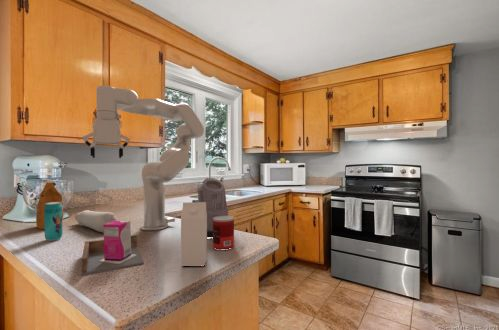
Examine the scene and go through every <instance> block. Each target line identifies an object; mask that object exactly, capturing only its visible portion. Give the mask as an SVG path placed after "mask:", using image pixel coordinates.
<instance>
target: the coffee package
mask: <svg viewBox="0 0 499 330" xmlns="http://www.w3.org/2000/svg"><path fill="white" fill-rule="evenodd" d="M55 186H57V183H56V182H51V181H49V180H47V181H46V182H45V185H44V187H43V188H42V191H41V192H40V195H39V197H38V202H37V205H36V216H35V217H36V220H35V221H36V224H35V225H36V227H37V229H38V230H45V213H44V207H45V205H46V204H45V203H49V202H61V204H62V220H63V218H64V209H63V208H64V207H63V206H64V205H63V202H64V201H63V196H62V195H61V193H60V192H59V190H57V188H56V187H55Z"/></svg>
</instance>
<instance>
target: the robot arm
mask: <svg viewBox="0 0 499 330" xmlns="http://www.w3.org/2000/svg"><path fill="white" fill-rule="evenodd" d="M95 93H96V95H95V96H96V103H95V104H96V118H95V119H94V120H93V124H92V125H93V127H92V132H91V133H87V134H86V135H83V136H82V137H81V138H82V139H83V141H84V143H85V144H86V145H87V146H88V147H89V148H90V157H92V158H93V159H95V157H96V152H95V150H96V149H95V146H96V145H117V146H118V147H119V149H118V158H119V159H122V157H124V148H126V146H128V145H129V143H130V141H131V138H130V137H128V136H126V135H123V134H122V133H121V124H120V120H119V119H121V118H122V115H121V114H119V113H118V111H122V112H125V113H129V114H136V115H142V116H149V117H155V118H159V119H163V120H166V121H169V122H170V121H171V122H184V123H182V124H179V126H178V127H177V129H176V141H175V142H174V143H173V144H172V145H170V147H169V148H167V149H166V150H164V151H163V152H162V153H161V155H160V157H159V161H150V162H147V163H146V164H144V165H143V167H142V169H141V178H142V183H143V184H142V185H143V223H142V224H141V225H140V227H139V228H140V230H143V231H159V230H163V229H166V228H168V227H169V223H174V222H176V218H175V217H166V216H165V215H166V211H165V210H166V203H165V202H166V198H165V197H166V194H165V193H166V192H165V191H166V190H165V184H164V183H168V182H171V181H172V180H174V179H175V178H176V177H178V175H179V174H180V173H181V172H182V171H183V170H185V168H187V166H188V164H189V162H190V154H189V152H190V150H191V140H193V139H199V138H201V137H203V135H204V132H205V129H204V126H203V123H202V121H201V120H200V119H199V117H198V116H197V113H195V111H194V110H193V108H192V107H191V106H190V105H189V104H188V103H185V102H182V103H178V104H174V103H171V102H168V101H164V100H162V99H160V98H139V96H138V94H137V93H136V92H135V91H134V90H133V89H129V88H118V87H114V86H111V85H102V84H101V85H98V86H97V87H96V91H95ZM90 138H92V143H91V142H90V141H89V140H88V139H90ZM121 140H125V142H124V143H121V142H122V141H121Z"/></svg>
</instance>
